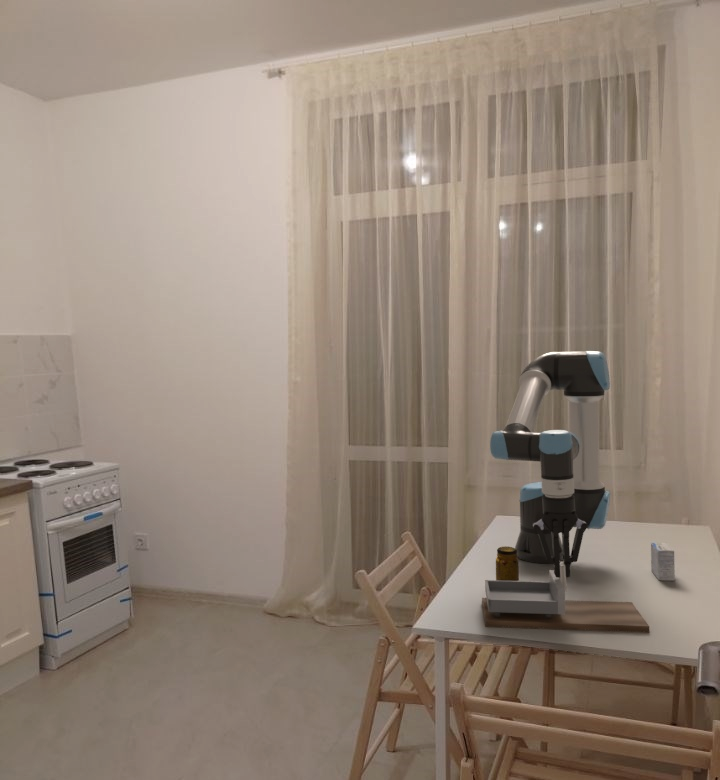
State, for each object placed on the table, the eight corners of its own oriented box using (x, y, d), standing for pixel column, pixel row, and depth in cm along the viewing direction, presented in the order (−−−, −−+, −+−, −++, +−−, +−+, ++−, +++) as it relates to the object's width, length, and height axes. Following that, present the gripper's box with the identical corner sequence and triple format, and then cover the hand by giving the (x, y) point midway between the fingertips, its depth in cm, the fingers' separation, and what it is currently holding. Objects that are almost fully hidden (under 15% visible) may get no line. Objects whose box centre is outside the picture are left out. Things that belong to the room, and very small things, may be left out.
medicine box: (675, 581, 175) (675, 551, 174) (657, 580, 176) (657, 550, 175) (667, 571, 183) (667, 542, 182) (650, 571, 183) (650, 542, 183)
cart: (485, 597, 162) (485, 568, 162) (555, 599, 160) (555, 570, 159) (488, 618, 149) (488, 587, 149) (565, 621, 147) (564, 589, 146)
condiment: (497, 586, 175) (497, 544, 174) (528, 590, 171) (528, 547, 170) (492, 595, 168) (491, 551, 167) (524, 600, 164) (523, 555, 164)
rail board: (482, 603, 163) (482, 597, 163) (631, 608, 158) (631, 602, 157) (485, 626, 149) (485, 620, 149) (649, 632, 144) (649, 626, 144)
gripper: (533, 499, 149) (538, 596, 150) (589, 497, 147) (593, 595, 148) (529, 491, 156) (534, 584, 158) (582, 490, 154) (586, 583, 156)
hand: (562, 589), depth 153 cm, fingers closed
